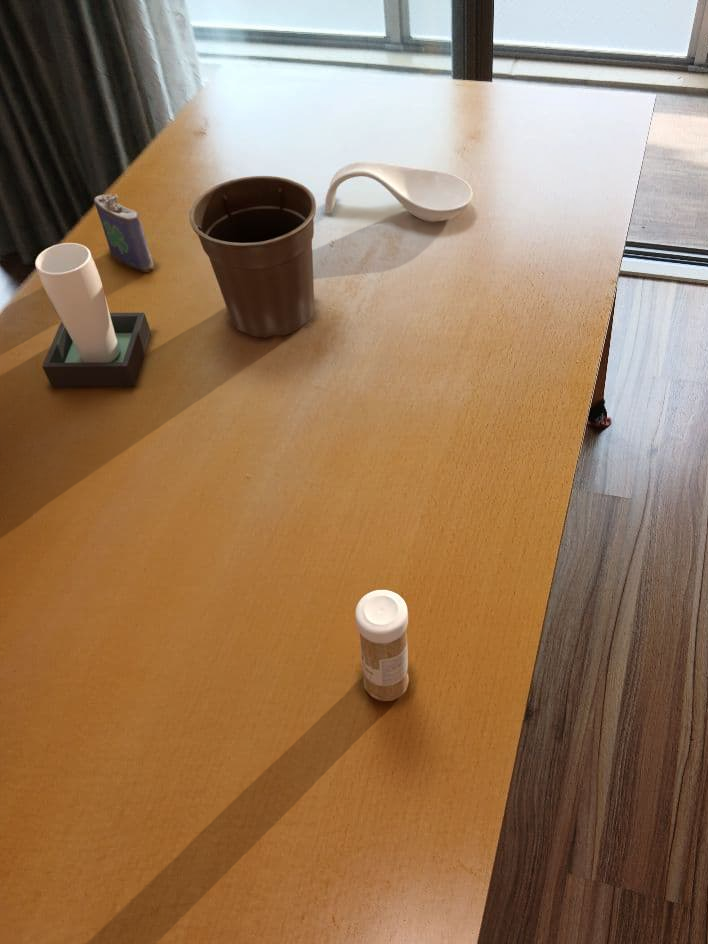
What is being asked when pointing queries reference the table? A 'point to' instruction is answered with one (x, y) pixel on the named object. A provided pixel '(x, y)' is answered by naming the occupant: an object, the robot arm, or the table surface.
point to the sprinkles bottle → (383, 644)
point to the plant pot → (260, 251)
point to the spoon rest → (411, 189)
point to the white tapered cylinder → (79, 300)
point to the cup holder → (121, 372)
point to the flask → (124, 233)
